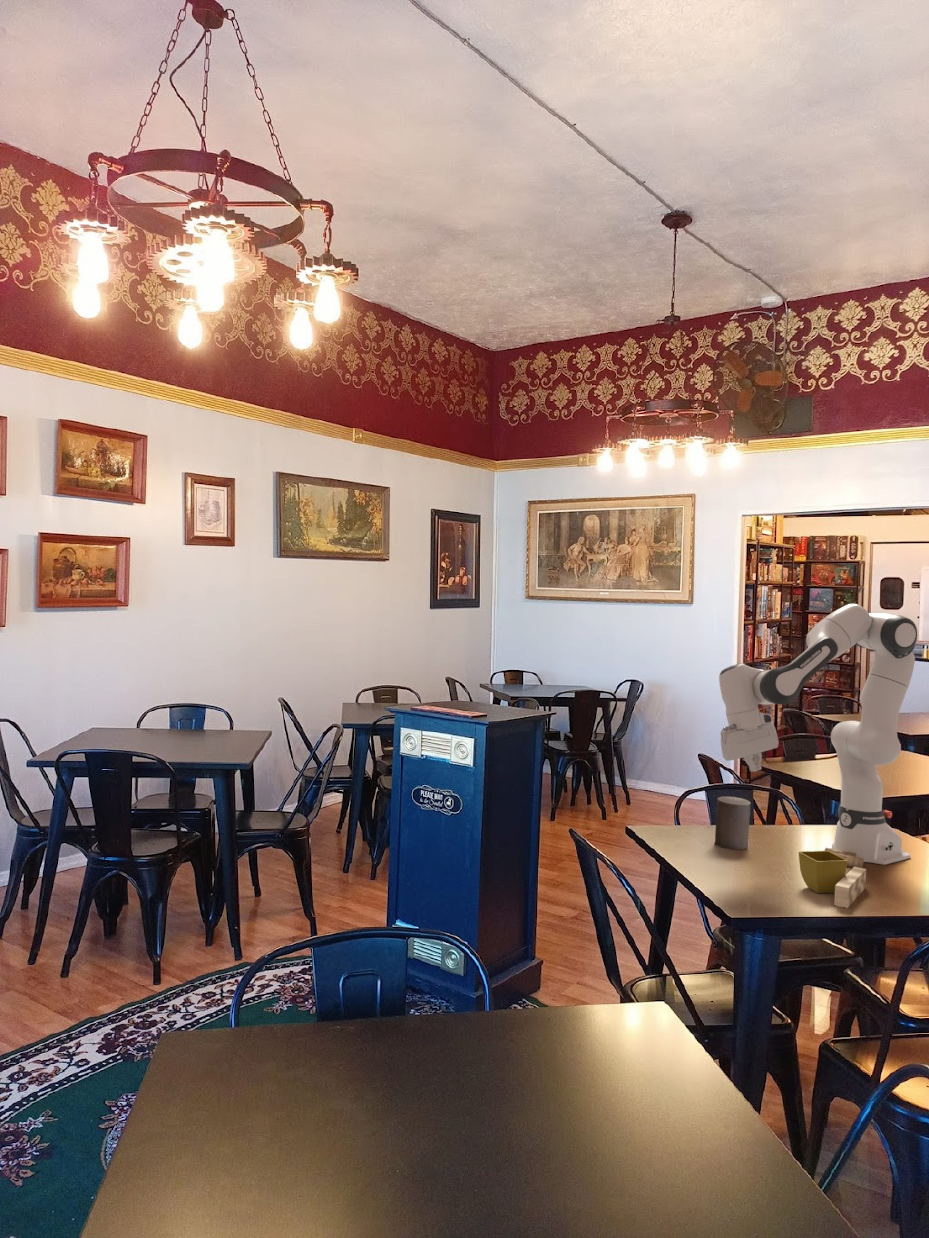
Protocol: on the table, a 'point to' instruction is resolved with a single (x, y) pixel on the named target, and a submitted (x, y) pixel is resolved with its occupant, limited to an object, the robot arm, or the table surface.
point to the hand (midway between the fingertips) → (756, 770)
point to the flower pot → (822, 870)
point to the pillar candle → (732, 823)
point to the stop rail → (850, 887)
